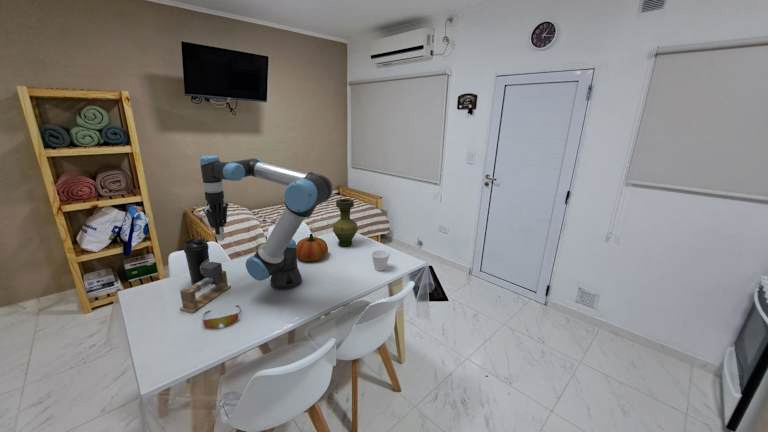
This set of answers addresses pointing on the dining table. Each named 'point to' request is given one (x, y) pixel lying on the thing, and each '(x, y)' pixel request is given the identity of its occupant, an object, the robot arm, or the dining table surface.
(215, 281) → the collar
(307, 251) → the pumpkin
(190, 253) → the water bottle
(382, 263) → the cup
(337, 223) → the vase
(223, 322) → the sunglasses
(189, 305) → the rail
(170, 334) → the dining table surface
